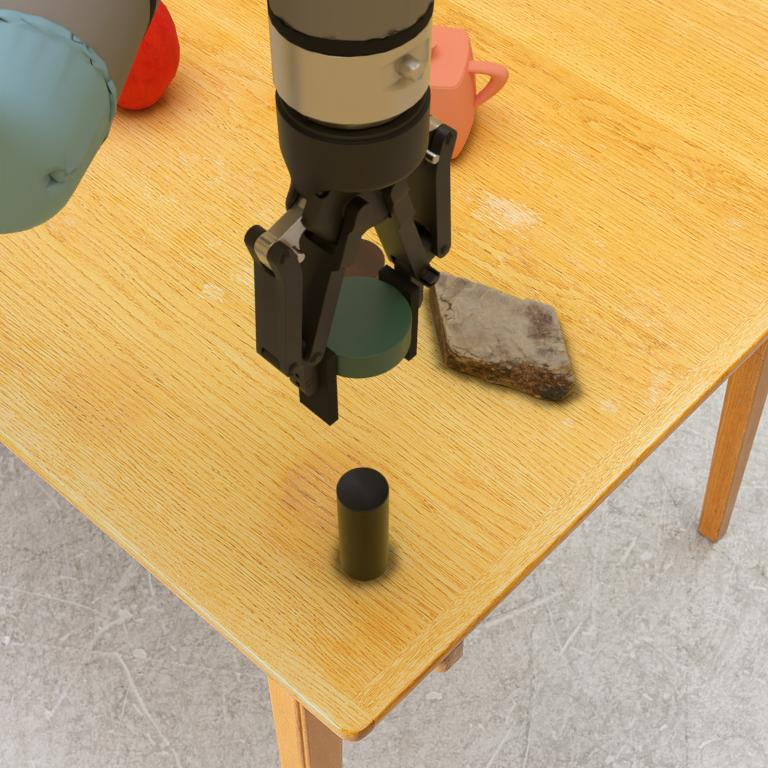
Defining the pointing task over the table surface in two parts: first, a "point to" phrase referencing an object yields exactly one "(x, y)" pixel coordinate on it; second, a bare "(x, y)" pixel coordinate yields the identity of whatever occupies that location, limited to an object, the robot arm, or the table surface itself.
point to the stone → (501, 338)
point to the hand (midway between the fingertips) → (359, 377)
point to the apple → (152, 63)
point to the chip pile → (366, 261)
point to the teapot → (459, 81)
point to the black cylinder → (363, 523)
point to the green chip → (369, 328)
